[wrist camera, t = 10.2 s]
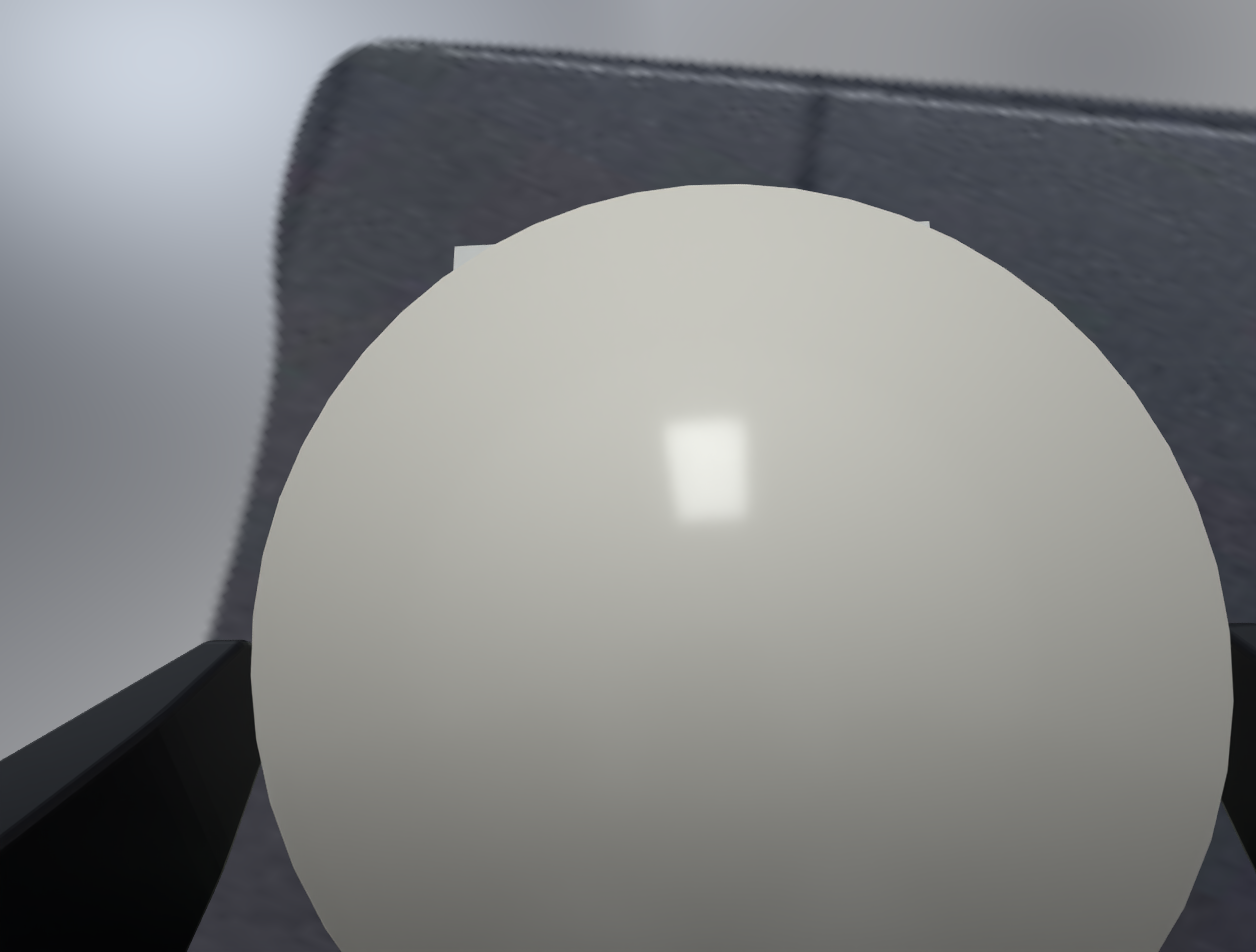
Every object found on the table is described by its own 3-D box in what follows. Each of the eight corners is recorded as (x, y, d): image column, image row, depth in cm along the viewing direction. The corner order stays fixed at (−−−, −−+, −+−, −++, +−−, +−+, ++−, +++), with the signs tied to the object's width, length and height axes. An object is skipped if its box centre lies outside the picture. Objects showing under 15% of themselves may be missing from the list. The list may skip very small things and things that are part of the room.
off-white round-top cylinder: (740, 895, 15) (900, 1488, 3) (513, 719, 17) (61, 709, 5) (889, 651, 16) (1400, 467, 5) (666, 504, 18) (608, 61, 6)
